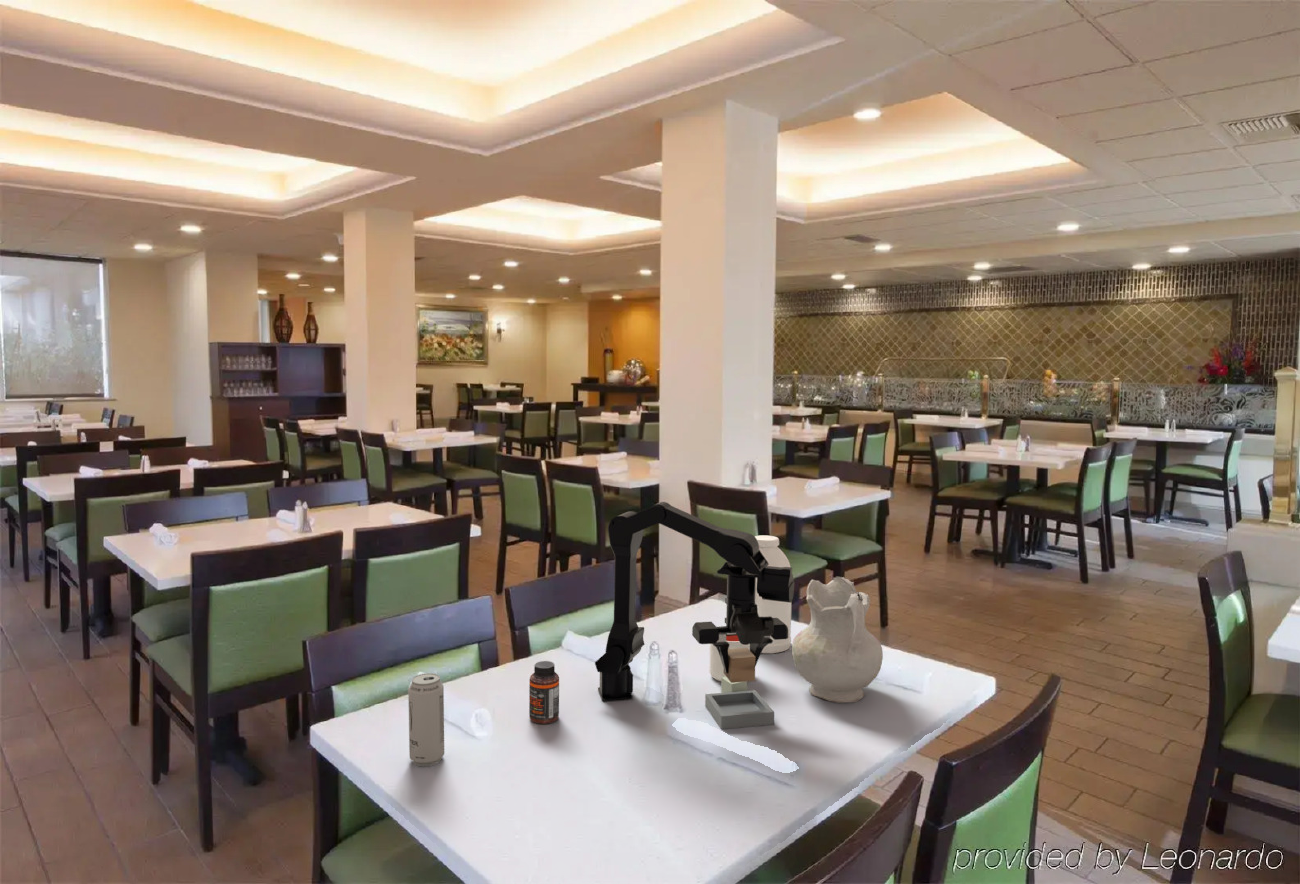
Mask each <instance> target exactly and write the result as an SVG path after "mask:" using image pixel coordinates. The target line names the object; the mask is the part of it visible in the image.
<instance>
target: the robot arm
mask: <svg viewBox="0 0 1300 884" xmlns="http://www.w3.org/2000/svg"><path fill="white" fill-rule="evenodd" d="M657 524H660V525H662V526H664V527H667V528H668V529H671V530H673V531H675V532H677V533H679V534H681V535H683V536H686V537H688V538H690V539H692V540H695V541H697V542H699V543H701V544H703V545H705V546H707V547H709V548H711V549H712V550H713V551H714V552H715V553H716V554H717V555H718V556H719V557H720V558H722V559H723V560H725V562H724V563H723V565H722V566H721V567H720V568H719V569H718V570H717V572H716V573H717V574H718V575H726V576H727V578H726V579H727V580H726V597H725V599H724V603H725V605H726V613H725V614H726V615H725V616H726V617H724V623H725V625H724V626H723V625H722V626H717V625H716V624H714V622H713V621H700V622H695V623H694V624H693V626H692V629H691V630H692V631H691V632H692V633H691V634H692V636H693V637H692V638H694V639H695V640H696V642H697V643H698V644H700V645H710V644H713V645H714V646H715V647H716V648H717V650H718V653H719V656H720V659H721V662H722V664H723V667H724V670H725V672H726V673H728V671H729V660H728V648H729V643H728V642H727V641H726V636H734V635H737V636H738V638H739V642H740V643H741V644H743V645H748V644H750V651H751V653H752V654H753V655H754V656H755V667H757V664H758V661H759V659H760V656H761V654H762V653H761V652H762V650H763V648H764V647H765V646H766V645H768V644H771V643H772V642H773V640H772V639H770V636H771V637H772V638H773V639H774V640H778V639H787V638H788V627H787V626H786V625H785V624H784V623H783V622H782V621H781V620H779V619H778V618H772V617H759V615H758V612H757V610H758V608H757V604H755V591H756V578H757V593H758V594H759V597H762V599H763V600H772V601H780V602H789V603H791V604H792V602H793V598H794V593H795V581H794V575H793V568H792V567H772V566H768V565H769V563H768V562H767V560H766V559H765V557H764V556H763V554H762V553H761V551H760V550H759V544H758V542H757V539H756V538H755V535H753V534H752V533H749V532H745V531H742V530H737V529H731V528H726V527H725V528H724V527H720V526H718V525H714V524H713V523H711V522H708V521H706V520H704V519H701V518H700V517H697V516H695V515H693V514H690V513H689V512H686V511H684V510H682V509H679V508H677V507H675V506H673V505H671V504H669V502H666V501H660V502H657V503H655V504H653V505H652V506H651V507H649V508H646V509H644V510H641V511H638V512H636V511H632V510H630V511H627V512H624V513H621V514H619V515H617V516H614V517H612V519H611V520H610V521H609V523H608V524H607V525H608V526H607V533H608V540H609V545H610V547H611V550H612V553H613V555H614V584H613V585H614V587H613V588H614V589H613V591H614V592H613V622H612V624H611V627H610V630H609V632H608V635H607V641H606V647H605V653H604V654H603V655H602V656H601V655H600V657H599V658H598V659H597V660H596V661H594V665H595V668H596V670H597V671H596V672H597V673H599V687H597V691H598V693H599V696H600V698H601V701H603V702H607V701H619V700H620V701H621V700H631V699H633V695H632V693H633V692H634V674H633V672H632V670H631V666H630V663H632V662H633V660H634V658H635V657H637V655H638V654H640V652H641V650H642V648H643V647H644V645H646V644H645V641H644V633H645V627H644V626H638V624H637V621H636V597H637V596H636V593H637V591H636V590H637V557H638V552H639V549H640V546H641V543H642V540H643V536H644V531H645V529H648V528H650V527H653V526H656V525H657Z"/></svg>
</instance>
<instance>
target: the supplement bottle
mask: <svg viewBox="0 0 1300 884" xmlns="http://www.w3.org/2000/svg"><path fill="white" fill-rule="evenodd" d="M555 669H556V668H555V663H554V662H553V661H550V660H540V661H537V662H536V663H535V664H534V670H533V671H534V672H533V673H532V674H531V675H530V676H529V686H528V687H529V688H528V689H529V690H528V691H529V699H528V701H529V703H528V704H529V705H528V706H529V707H528V708H529V710H528V711H529V713H528V715H529V720H530V721H531V722H533V723H534V724H539V725H542V724H543V725H546V724H551V723H554V722H556V721H557V720H558V719H559V715H560V677H559V674H558V673H557V672H556V671H555Z"/></svg>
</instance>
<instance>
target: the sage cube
mask: <svg viewBox="0 0 1300 884" xmlns="http://www.w3.org/2000/svg"><path fill="white" fill-rule="evenodd" d="M720 682H721V684H720V685H721V686H720V687H721V688H720V691H721V692H720V693H726V692H738V691H748V681H746V682H735V683H731V682H730V681H729V679H728V678H727V677H722V678H721V681H720Z"/></svg>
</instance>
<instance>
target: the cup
mask: <svg viewBox="0 0 1300 884" xmlns="http://www.w3.org/2000/svg"><path fill="white" fill-rule="evenodd" d="M726 641H727V642H728V643H729V648H728V649H738V648H748V649H749V650H750V644H748V645H743V644H741V643H740V642H739V638H738V636H737V635H734V636H726ZM708 667H709V668H708V669H709V674H710V676H711V677H712V678H713V679H714V680H716V681H717V682H721V678H722V677H726V676H725V674H724V667H723V664H722V662H721V659H720V656H719V653H718V650H717V648H716V647H715V646H714V645H713V644H709V666H708Z"/></svg>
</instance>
